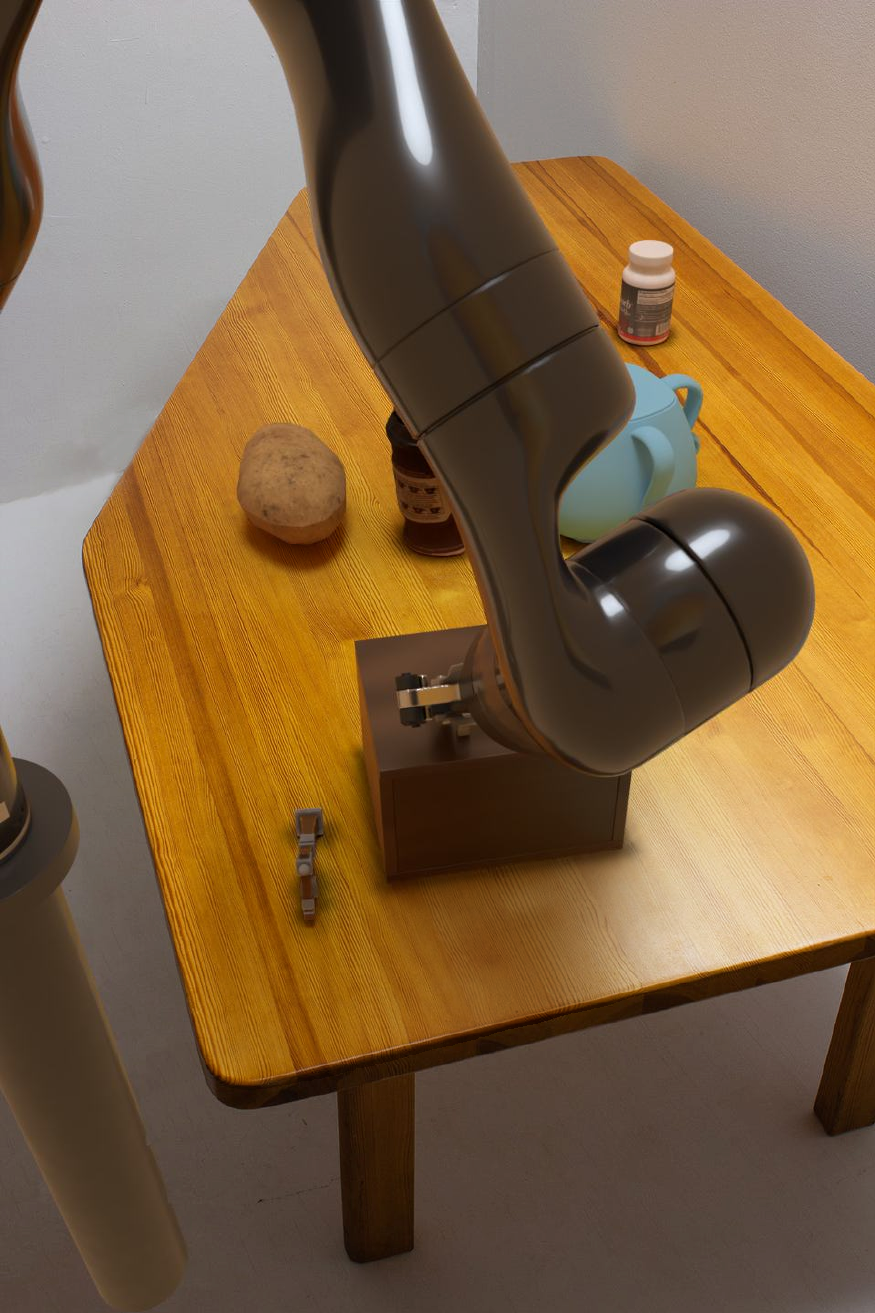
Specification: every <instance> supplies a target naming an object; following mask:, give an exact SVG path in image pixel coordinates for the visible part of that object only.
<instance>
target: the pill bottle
mask: <svg viewBox="0 0 875 1313" xmlns="http://www.w3.org/2000/svg"><path fill="white" fill-rule="evenodd" d="M627 259H628V262H629V263H628V264H627V265H626V266H625V267H624V269H623V271H622V276H621V285H620V296H619V297H620V299H619V308H618V319H617V320H618V321H617V333H618V336H619V337H620V338H621V339H622V340H623V341H625V342H627V343H629V344H632V345H637V346H654V345H657V344H660V343H662V342H664V341H666V339H667V338H668V337H669V334H670V332H671V330H670V329H671V322H672V312H673V305H674V304H673V303H674V294H675V286H676V272H675V269H674V267H672V266H671V264H672V263H673V261H674V247H673V246H671V245H670V244H669V243H667V242H664V241H661V240H655V239H654V240H653V239H644V240H639V241H636V242H633V243H631V244H630V246H629V249H628V256H627Z"/></svg>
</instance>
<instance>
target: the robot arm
mask: <svg viewBox="0 0 875 1313" xmlns="http://www.w3.org/2000/svg"><path fill="white" fill-rule="evenodd" d="M247 1H248V3H249V4H250V6H251V7H252V9H253V11H254V12H255V14H256V16H257V18H258V20H259V21H260V23H261V25H262V27H263V29H264V30H265V33H266V34H267V37H268V38H269V41H270V43H271V45H272V47H273V49H274V51H275V53H276V55H277V58H278V60H279V63H280V66H281V69H282V72H283V75H284V78H285V81H286V86H287V89H288V91H289V92H288V93H289V95H290V99H291V103H292V105H293V109H294V115H295V116H294V117H295V121H296V127H297V132H298V137H299V143H300V148H301V155H302V164H303V169H304V170H303V171H304V178H305V184H306V185H305V186H306V191H307V198H308V203H309V204H308V205H309V212H310V217H311V223H312V229H313V233H314V238H315V243H316V246H317V251H318V254H319V257H320V262H321V265H322V268H323V271H324V273H325V277H326V279H327V282H328V285H329V288H330V291H331V294H332V296H333V298H334V301H335V303H336V305H337V307H338V309H339V312H340V314H341V316H342V318H343V320H344V322H345V325H346V326H347V328H348V330H349V331H350V334H351V335H352V337H353V339H354V342H355V343H356V345H357V346H358V348H359V350H360V351H361V354H362V355H363V357H364V359H365V360H366V362H367V364H368V366H369V367H370V369H371V370H372V371H373V374H374V376H375V377H376V379H377V380H378V382H379V384H380V385H381V387H382V389H383V391H384V392H385V394H386V396H387V397H388V399H389V400H390V402H391V403H392V405H393V407H395V409H396V410H397V412H398V414H399V415H400V417H401V419H402V420H403V422H404V424H405V425H406V427H407V429H408V430H409V432H410V434H411V435H412V437H413V439H416V440H417V439H420V440H419V441H418V443H417V445H418V447H419V448H420V450H421V452H422V453H423V455H424V457H425V459H426V460H427V462H428V464H429V465H430V467H431V469H432V471H433V473H434V475H435V477H436V479H437V481H438V483H439V485H440V487H441V489H442V491H443V493H444V495H445V497H446V500H447V502H448V505H449V507H450V510H451V512H452V515H453V517H454V520H455V522H456V525H457V528H458V530H459V533H460V536H461V538H462V541H463V544H464V547H465V553H466V556H467V558H468V561H469V565H470V567H471V570H472V574H473V576H474V580H475V583H476V587H477V591H478V594H479V597H480V600H481V604H482V609H483V612H484V615H485V621H486V623H485V624H486V625H485V624H484V625H485V626H484V627H483V628H482V629H481V630H480V631H479V633H478V634H477V635H476V637H475V638H474V640H473V641H472V643H471V645H470V647H469V649H468V652H467V654H466V657H465V660H464V662H463V663H459V664H455V665H452V666H450V668H449V671H448V675H447V676H437V677H436V679H432V680H430V683H431V687H428V679H427V675H419V676H418V674H412V675H411V672H409V673H402V674H401V676H398V677H395V684H396V691H397V699H398V707H399V714H400V722H401V724H402V725H404V726H412V728H416V727H421V725H420V724H426V723H427V722H426V721H430V720H432V719H433V716H435V720H436V723H438V722H442V724H450V723H451V721H453V720H454V721H455V723H456V725H457V726H458V727H467V726H475V725H478V726H479V727H480V728H481V729H482V730H483V732H484V733H485V734H487V735H488V736H489V737H490V738H491V739H492V740H494V741H495V742H497V743H498V744H500V745H502V746H503V747H505V748H508V749H510V750H512V751H515V752H519V753H523V754H529V755H547V754H548V755H550V756H551V757H552V758H554V759H555V760H556V761H558V762H560V763H562V764H563V765H565V766H567V767H569V768H571V769H573V770H575V771H578V772H581V773H584V774H586V775H590V776H595V777H615V776H620V775H623V774H626V773H628V772H630V771H632V772H633V771H634V770H637V769H638V768H641V767H642V766H644V765H645V764H647V763H649V762H650V761H651V760H653V759H655V758H656V757H658V756H660V755H661V754H662V753H663V752H666V751H667V750H668V749H669V748H671V747H672V746H675V745H676V744H677V743H678V742H680V741H681V740H683V739H684V738H685V737H686V736H689V735H690V734H691V733H693V732H694V731H695V730H697V729H699V728H700V727H701V726H704V725H705V724H706V723H708V722H709V721H710V720H712V719H714V718H715V717H716V716H719V715H720V714H721V713H722V712H724V711H725V710H727V709H728V708H730V707H732V706H733V705H735V704H736V703H737V702H739V701H740V700H742V699H744V698H745V697H746V696H747V695H750V694H752V693H753V692H754V691H755V690H757V689H759V688H760V687H761V686H763V685H764V684H766V683H767V682H769V681H770V680H772V679H773V678H774V677H775V676H777V675H779V674H780V673H781V672H782V671H784V669H786V668H787V667H788V666H789V665H790V664H791V663H792V662H793V661H794V660H795V658H796V657H797V656H798V655H799V654H800V652H801V650H802V649H803V647H804V646H805V644H806V641H807V639H808V637H809V636H810V632H811V630H812V626H813V623H814V617H815V610H816V588H815V587H816V586H815V581H814V580H815V579H814V575H813V571H812V567H811V564H810V561H809V558H808V556H807V554H806V552H805V550H804V547H803V546H802V544H801V543H800V541H799V539H798V538H797V537H796V535H795V534H794V532H793V531H792V529H791V528H790V527H789V525H788V524H786V522H785V521H784V520H783V519H781V517H780V516H779V515H777V513H775V512H774V511H772V510H771V509H770V508H768V506H766V505H764V504H762V502H760V501H758V500H756V499H754V498H752V497H750V496H747V495H745V494H743V493H742V492H741V493H740V492H737V491H734V490H730V489H726V488H722V487H715V486H714V487H713V486H696V487H694V488H688V489H684V490H680V491H677V492H674V493H672V494H670V495H668V496H666V497H664V498H662V499H660V500H659V501H657V502H655V503H654V504H652V505H650V506H649V507H647V508H646V509H644V510H642V511H641V512H639V513H638V514H636V515H634V516H633V517H631V518H630V519H629V520H627V521H626V522H624V523H623V524H621V525H619V526H618V527H616V528H615V529H613V530H611V531H610V532H608V533H607V534H605V535H603V536H602V537H600V538H599V539H597V540H595V541H594V542H591V543H588V545H586V546H584V547H582V548H581V549H580V550H578V551H577V552H574V553H573V554H571V555H570V556H568V557H567V558H565V557H564V555H563V550H562V544H561V534H559V516H560V506H561V501H562V498H563V495H564V493H565V491H566V490H567V488H568V487H569V485H570V484H571V483H572V481H573V480H574V479H575V477H576V476H577V475H578V474H579V473H580V472H581V471H582V470H583V469H584V468H585V467H586V466H587V465H588V464H589V463H590V462H591V461H592V460H593V459H594V458H595V457H596V456H597V455H598V454H599V453H600V452H601V451H602V450H603V449H604V448H605V447H606V446H607V445H608V444H609V443H610V442H611V441H612V440H614V439H615V438H616V436H617V435H618V434H619V433H620V432H621V431H622V430H623V428H624V427H625V426H626V425H627V423H628V422H629V420H630V419H631V417H632V415H633V412H634V409H635V405H636V393H635V387H634V384H633V381H632V378H631V376H630V374H629V371H628V369H627V367H626V365H625V363H626V362H625V361H624V359H623V358H622V355H621V354H620V352H619V350H618V348H617V347H616V345H615V343H614V341H613V340H612V338H611V336H610V334H609V333H608V331H607V329H606V328H605V327H603V326H601V323H602V320H601V319H600V317H599V315H598V314H597V312H596V310H595V308H594V306H593V305H592V302H591V301H590V299H589V298H588V296H587V294H586V292H585V291H584V289H583V288H582V286H581V284H580V282H579V280H578V279H577V277H576V275H575V273H574V272H573V270H572V269H571V266H570V265H569V263H568V261H567V260H566V258H565V256H564V254H563V253H562V251H560V248H559V246H558V244H557V243H556V241H555V239H554V238H553V235H552V234H551V233H550V231H549V229H548V227H547V226H546V224H545V223H544V221H543V219H542V217H541V215H540V214H539V213H538V210H537V209H536V207H535V205H534V204H533V202H532V200H531V199H530V197H529V195H528V193H527V192H526V190H525V188H524V186H523V184H522V183H521V181H520V179H519V177H518V176H517V173H516V172H515V170H514V168H513V166H512V164H511V163H510V161H509V159H508V157H507V155H506V153H505V152H504V150H503V147H502V146H501V144H500V142H499V140H498V138H497V136H496V134H495V132H494V130H493V128H492V127H491V124H490V122H489V120H488V118H487V116H486V115H485V113H484V111H483V108H482V106H481V104H480V101H479V100H478V97H477V96H476V94H475V92H474V90H473V87H472V85H471V83H470V81H469V78H468V77H467V74H466V72H465V70H464V68H463V66H462V64H461V61H460V59H459V57H458V55H457V52H456V50H455V47H454V45H453V43H452V41H451V39H450V36H449V34H448V32H447V30H446V27H445V25H444V23H443V20H442V18H441V16H440V14H439V10H438V9H437V7H436V4H435V2H434V0H247ZM43 2H44V0H0V315H1V314H2V312H3V310H4V308H5V306H6V304H7V303H8V300H9V298H10V296H11V295H12V292H13V290H14V288H15V286H16V284H17V282H18V280H19V279H20V277H21V274H22V273H23V270H24V269H25V266H26V264H27V263H28V261H29V258H30V256H31V254H32V251H33V249H34V246H35V244H36V242H37V238H38V235H39V232H40V230H41V225H42V221H43V218H44V209H45V207H44V206H45V204H44V203H45V199H44V198H45V196H44V195H45V194H44V193H45V192H44V191H45V189H44V188H45V187H44V176H43V168H42V165H41V159H40V155H39V151H38V147H37V144H36V139H35V136H34V133H33V129H32V126H31V122H30V119H29V115H28V113H27V110H26V106H25V103H24V99H23V94H22V91H21V86H20V81H19V80H20V79H19V76H20V69H21V63H22V59H23V55H24V50H25V47H26V44H27V42H28V39H29V37H30V34H31V31H32V29H33V27H34V25H35V22H36V19H37V18H38V14H39V12H40V9H41V7H42V4H43ZM12 757H13V756H12V754H11V751H10V749H9V746H8V744H7V740H6V738H5V734H4V732H3V729H2V727H1V725H0V866H2V865H3V864H4V863H6V862H7V861H8V860H9V859H10V858H12V857H13V856H14V855H15V854H16V853H17V852H18V850H19V849H20V848H21V847H22V845H23V844H24V842H25V841H26V839H27V837H28V835H29V833H30V830H31V826H32V811H31V807H30V804H29V801H28V799H27V796H26V794H25V793H24V790H23V787H22V785H21V783H20V780H19V778H18V775H17V772H16V769H15V766H14V763H13V760H12Z"/></svg>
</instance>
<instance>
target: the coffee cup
mask: <svg viewBox="0 0 875 1313" xmlns="http://www.w3.org/2000/svg"><path fill="white" fill-rule="evenodd" d="M384 429H385V434H386V438H387V439H388V441H389V443H390V446H391V456H390V462H391V466H392V467H391V468H392V469H391V470H392V474H393V480H394V481H393V482H394V485H395V495H396V500H397V501H396V502H397V506H398V509H399V511H400V514H401V515H402V517H403V518H404V523H403V529H402V533H401V534H402V539H403V541H404V543H405V544H406V545H407V546H408V547H409V548H410V549H411V550H413V551H415V552H417V553H421V554H424V555H429V556H440V557H441V556H443V557H447V556H451V555H452V556H453V555H460V554H463V553H464V552H466V550H465V547H464V544H463V541H462V538H461V536H460V533H459V530H458V528H457V525H456V522H455V520H454V517H453V515H452V512H451V510H450V507H449V505H448V502H447V500H446V497H445V495H444V493H443V491H442V489H441V487H440V485H439V483H438V481H437V479H436V477H435V475H434V473H433V471H432V469H431V467H430V465H429V464H428V462H427V460H426V459H425V457H424V455H423V453H422V452H421V450H420V448H419V447H418V445H417V443H418V441H419V440H420V439H417V440H416V439H413V437H412V435H411V434H410V432H409V430H408V429H407V427H406V425H405V424H404V422H403V420H402V419H401V417H400V415H399V414H398V412H397V410H396V409H395V407H394V406H393V407H392V411H391V413H390V415H389V417H388V418H387V421H386V423H385V428H384Z"/></svg>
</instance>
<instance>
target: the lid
mask: <svg viewBox="0 0 875 1313" xmlns="http://www.w3.org/2000/svg"><path fill="white" fill-rule="evenodd" d="M486 624H487V623H485V624H477V625H469V626H463V627H453V628H446V629H438V630H430V631H422V632H414V633H406V634H396V635H390V636H382V637H374V638H373V637H372V638H365V639H357V640H354V641H353V643H354V644H353V645H354V654H355V653H356V656H355V659H356V658H357V663H358V668H359V673H360V678H361V684H362V689H363V694H364V699H365V704H366V709H367V715H368V720H369V725H370V730H371V735H372V740H373V746H374V751H375V756H376V761H377V766H378V771H379V777H380V780H381V781H384V780H391V779H398V778H405V777H413V776H420V775H427V774H434V773H441V772H449V771H456V770H463V769H470V768H477V767H485V766H492V765H499V764H506V763H513V762H521V761H528V760H535V759H542V758H549V757H551V756H550V755H548V754H547V755H529V754H523V753H519V752H515V751H512V750H510V749H508V748H505V747H503V746H502V745H500V744H498V743H497V742H495V741H494V740H492V739H491V738H490V737H489V736H488V735H487V734H485V733H484V732H483V730H482V729H481V728H480V727H479V726H478V725H475V726H467V727H458V726H457V725H456V723H455V721H454V720H453V721H451V723H450V724H442V722H438V723H436V720H435V716H433V719H432V720H430V721H426V722H427V723H426V724H420V725H421V727H416V728H412V726H404V725H402V724H401V722H400V714H399V707H398V699H397V691H396V684H395V677H398V676H401V674H402V673H409V672H411V675H412V674H418V676H419V675H427V679H428V687H431V683H430V680H432V679H436V677H437V676H447V675H448V671H449V668H450V666H452V665H455V664H459V663H463V662H464V660H465V657H466V654H467V652H468V649H469V647H470V645H471V643H472V641H473V640H474V638H475V637H476V635H477V634H478V633H479V631H480V630H481V629H482V628H483V627H484V626H485V625H486Z"/></svg>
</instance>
